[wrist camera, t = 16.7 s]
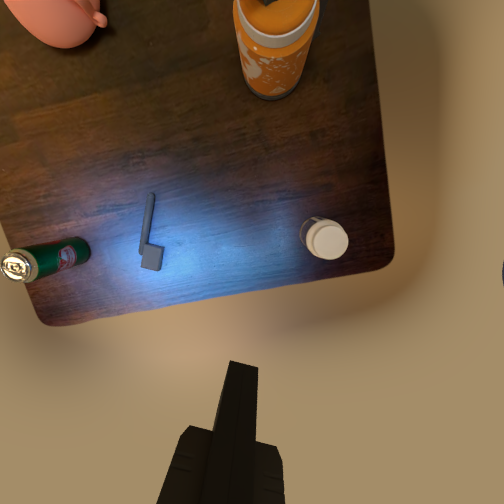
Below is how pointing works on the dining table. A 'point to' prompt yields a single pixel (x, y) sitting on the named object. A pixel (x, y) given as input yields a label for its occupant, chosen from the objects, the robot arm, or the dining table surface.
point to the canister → (275, 42)
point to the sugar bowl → (59, 19)
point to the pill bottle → (324, 237)
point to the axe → (149, 251)
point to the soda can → (43, 259)
